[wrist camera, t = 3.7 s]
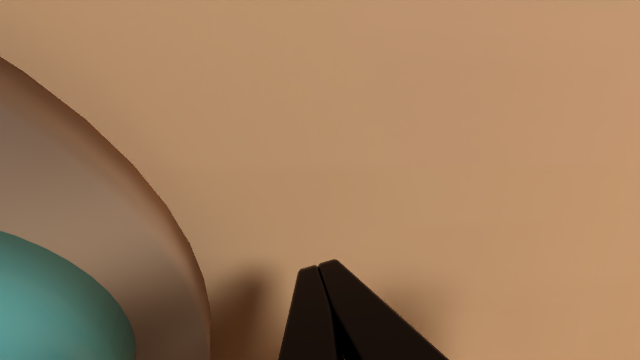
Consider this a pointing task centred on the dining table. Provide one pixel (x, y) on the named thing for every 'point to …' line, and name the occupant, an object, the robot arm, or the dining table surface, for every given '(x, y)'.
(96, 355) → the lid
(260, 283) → the dining table surface
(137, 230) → the disc
